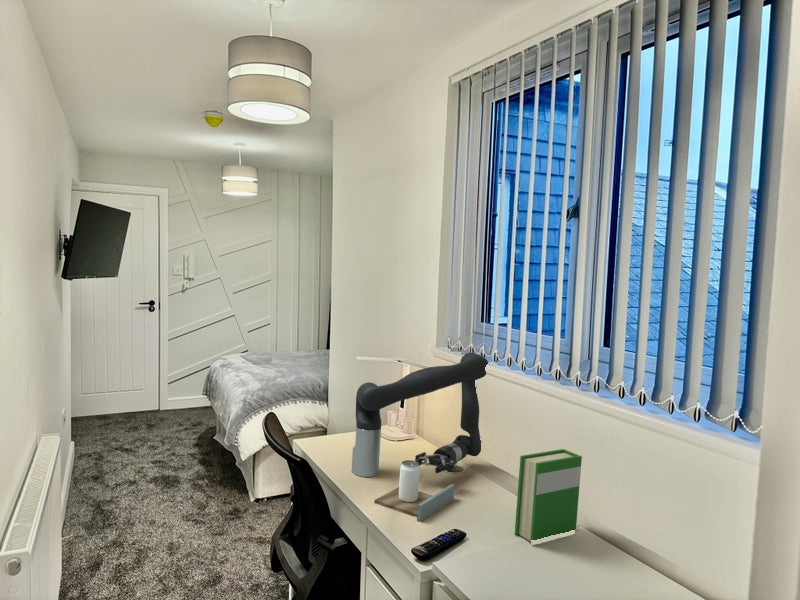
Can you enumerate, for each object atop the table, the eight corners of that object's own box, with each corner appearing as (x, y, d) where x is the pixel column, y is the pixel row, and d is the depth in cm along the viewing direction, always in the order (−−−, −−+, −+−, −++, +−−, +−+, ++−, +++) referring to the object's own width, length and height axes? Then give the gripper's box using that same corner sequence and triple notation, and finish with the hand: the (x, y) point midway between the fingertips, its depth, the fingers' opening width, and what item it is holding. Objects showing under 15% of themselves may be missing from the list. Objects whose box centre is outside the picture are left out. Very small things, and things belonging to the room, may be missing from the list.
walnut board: (374, 502, 189) (374, 499, 189) (401, 488, 203) (401, 485, 203) (416, 517, 181) (416, 513, 181) (441, 501, 194) (441, 498, 194)
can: (415, 504, 188) (417, 467, 187) (396, 501, 190) (398, 464, 189) (419, 496, 194) (422, 461, 193) (401, 493, 196) (403, 458, 195)
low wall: (416, 520, 178) (417, 504, 178) (450, 498, 197) (451, 484, 197) (420, 521, 178) (421, 505, 177) (453, 499, 196) (454, 484, 196)
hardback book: (532, 546, 166) (538, 463, 165) (514, 535, 173) (520, 455, 171) (575, 534, 175) (581, 456, 174) (557, 524, 182) (563, 448, 180)
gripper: (431, 441, 217) (408, 451, 203) (466, 450, 209) (444, 461, 196) (430, 461, 217) (407, 472, 204) (464, 470, 210) (442, 483, 196)
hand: (425, 467), depth 200 cm, fingers open, 8 cm apart
